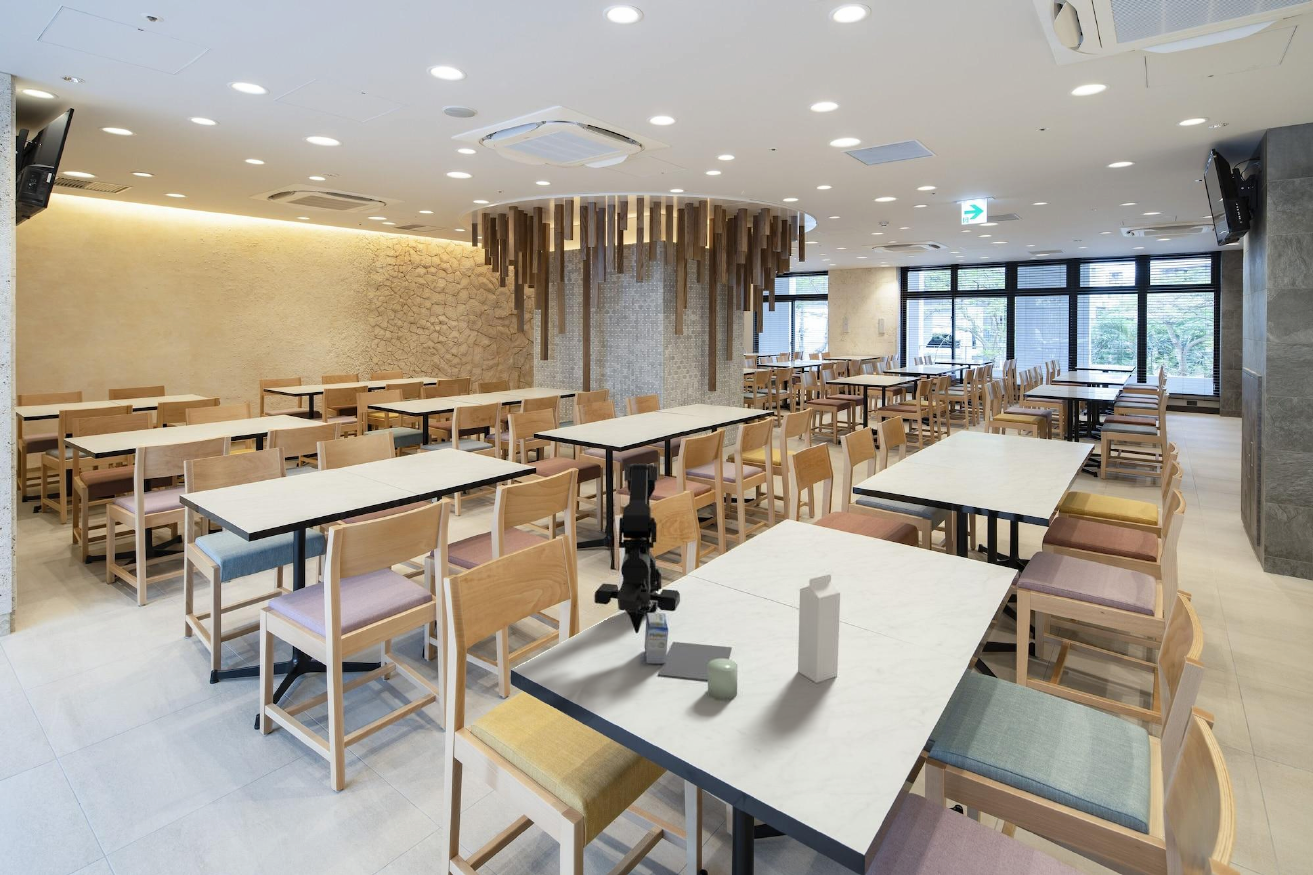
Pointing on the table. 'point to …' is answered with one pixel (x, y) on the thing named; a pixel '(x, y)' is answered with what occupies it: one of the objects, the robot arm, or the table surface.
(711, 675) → the pale green cylinder
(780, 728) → the table surface
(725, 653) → the mat
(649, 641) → the medicine box
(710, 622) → the table surface
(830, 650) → the milk
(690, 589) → the table surface
